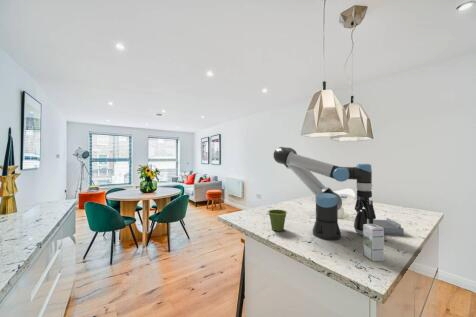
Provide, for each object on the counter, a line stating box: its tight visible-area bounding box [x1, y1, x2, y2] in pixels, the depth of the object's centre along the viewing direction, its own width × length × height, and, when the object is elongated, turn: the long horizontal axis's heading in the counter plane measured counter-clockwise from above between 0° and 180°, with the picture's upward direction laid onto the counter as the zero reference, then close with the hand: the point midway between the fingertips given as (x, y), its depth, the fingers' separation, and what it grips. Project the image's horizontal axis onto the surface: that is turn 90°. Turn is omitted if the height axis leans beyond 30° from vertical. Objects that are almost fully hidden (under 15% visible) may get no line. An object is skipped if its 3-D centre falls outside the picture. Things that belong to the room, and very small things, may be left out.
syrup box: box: [362, 224, 385, 262], centre depth 88 cm, size 6×6×14 cm
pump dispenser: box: [353, 208, 374, 237], centre depth 115 cm, size 10×10×15 cm
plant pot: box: [267, 209, 288, 232], centre depth 124 cm, size 12×12×11 cm
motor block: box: [373, 217, 405, 237], centre depth 125 cm, size 16×20×6 cm
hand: (364, 226), depth 115 cm, fingers open, 13 cm apart
